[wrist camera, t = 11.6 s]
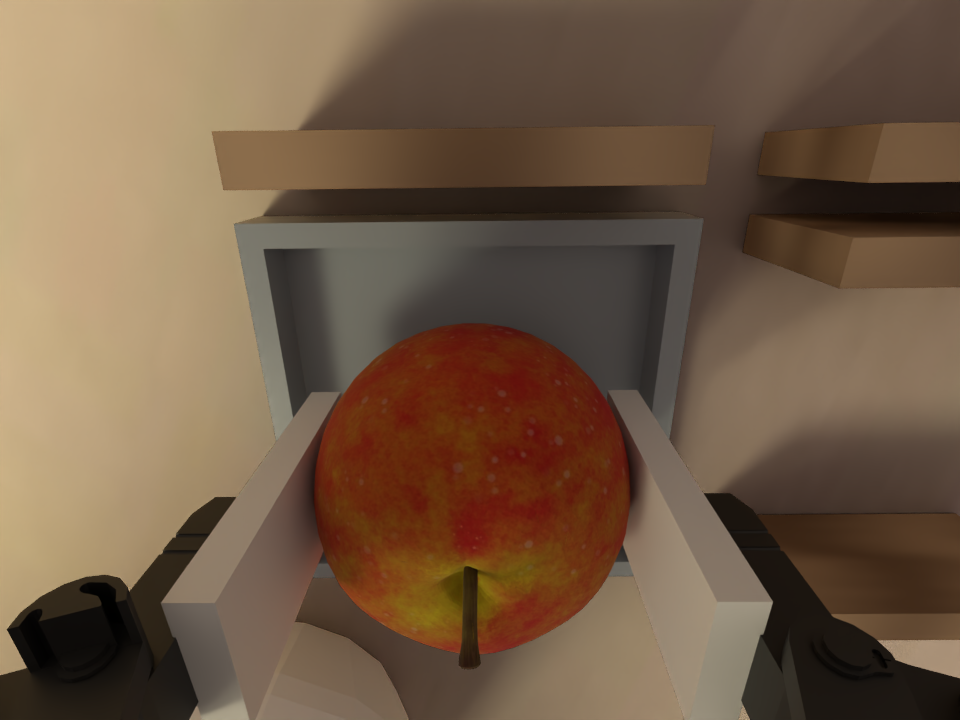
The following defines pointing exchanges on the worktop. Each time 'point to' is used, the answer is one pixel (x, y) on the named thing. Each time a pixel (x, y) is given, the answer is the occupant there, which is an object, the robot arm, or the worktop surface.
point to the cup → (327, 681)
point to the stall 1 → (464, 157)
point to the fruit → (472, 489)
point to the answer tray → (470, 295)
